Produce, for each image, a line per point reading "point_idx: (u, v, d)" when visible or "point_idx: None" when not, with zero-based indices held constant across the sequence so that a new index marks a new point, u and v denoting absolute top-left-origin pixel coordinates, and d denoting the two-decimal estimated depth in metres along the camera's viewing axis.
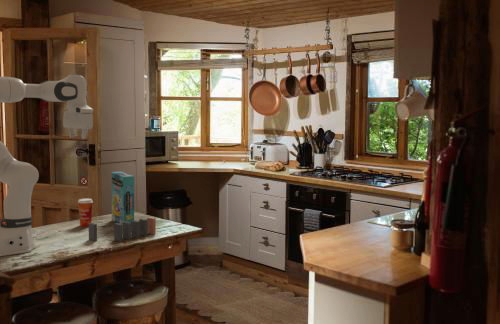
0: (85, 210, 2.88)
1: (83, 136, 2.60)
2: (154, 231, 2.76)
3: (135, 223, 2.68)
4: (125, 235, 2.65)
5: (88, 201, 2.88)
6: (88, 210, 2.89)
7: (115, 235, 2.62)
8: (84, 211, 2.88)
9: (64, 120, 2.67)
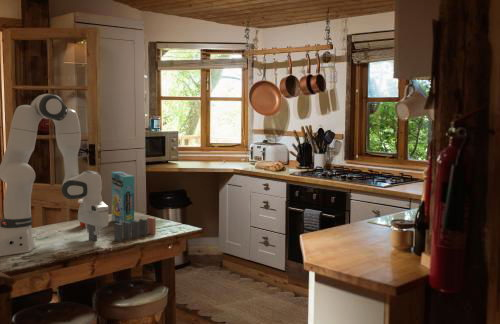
0: None
1: (96, 232, 2.59)
2: (154, 231, 2.76)
3: (135, 223, 2.68)
4: (125, 235, 2.65)
5: None
6: None
7: (115, 235, 2.62)
8: None
9: (79, 214, 2.65)
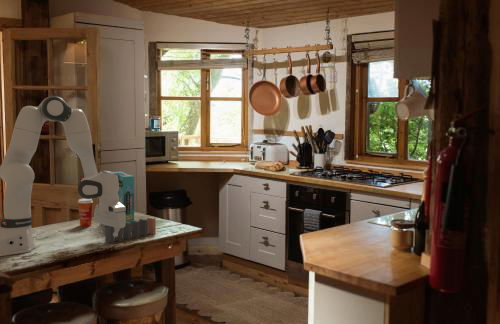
0: (85, 210, 2.88)
1: (115, 234, 2.54)
2: (154, 231, 2.76)
3: (135, 223, 2.68)
4: (125, 235, 2.65)
5: (88, 201, 2.88)
6: (88, 210, 2.89)
7: None
8: (84, 211, 2.88)
9: (95, 215, 2.61)
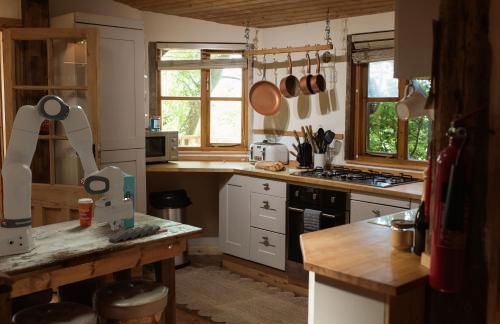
0: (85, 210, 2.88)
1: (111, 227, 2.59)
2: None
3: (149, 227, 2.75)
4: None
5: (88, 201, 2.88)
6: (88, 210, 2.89)
7: None
8: (84, 211, 2.88)
9: None
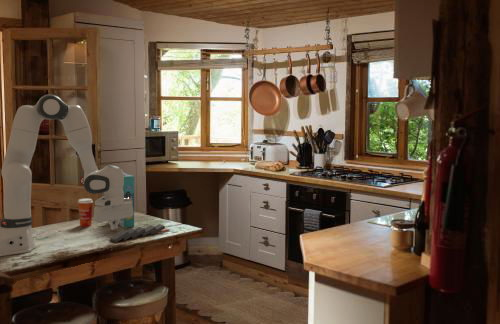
0: (85, 210, 2.88)
1: (111, 227, 2.59)
2: None
3: (152, 227, 2.75)
4: None
5: (88, 201, 2.88)
6: (88, 210, 2.89)
7: None
8: (84, 211, 2.88)
9: None
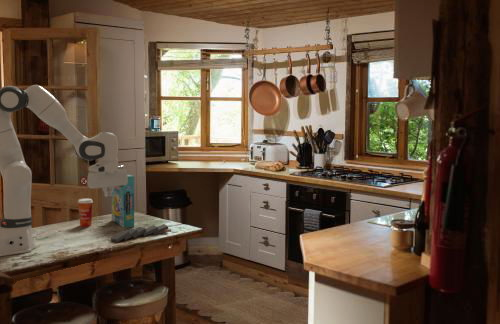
0: (85, 210, 2.88)
1: (105, 194, 2.57)
2: None
3: (154, 227, 2.75)
4: None
5: (88, 201, 2.88)
6: (88, 210, 2.89)
7: None
8: (84, 211, 2.88)
9: None
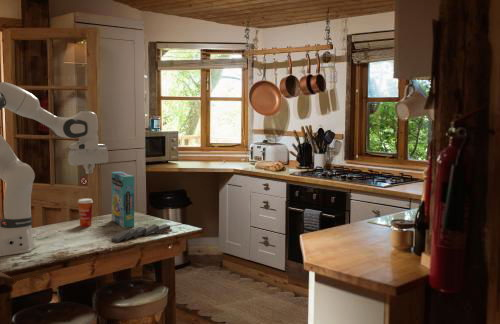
0: (85, 210, 2.88)
1: (86, 171, 2.65)
2: None
3: (155, 226, 2.76)
4: None
5: (88, 201, 2.88)
6: (88, 210, 2.89)
7: None
8: (84, 211, 2.88)
9: None
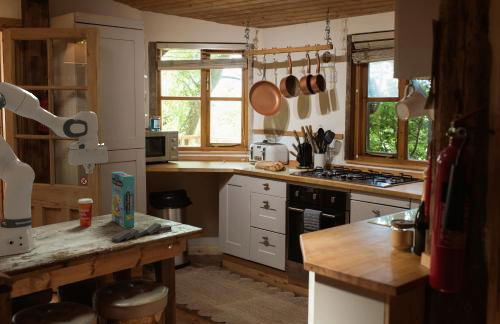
0: (85, 210, 2.88)
1: (86, 171, 2.65)
2: (161, 232, 2.80)
3: (158, 224, 2.78)
4: None
5: (88, 201, 2.88)
6: (88, 210, 2.89)
7: None
8: (84, 211, 2.88)
9: None
